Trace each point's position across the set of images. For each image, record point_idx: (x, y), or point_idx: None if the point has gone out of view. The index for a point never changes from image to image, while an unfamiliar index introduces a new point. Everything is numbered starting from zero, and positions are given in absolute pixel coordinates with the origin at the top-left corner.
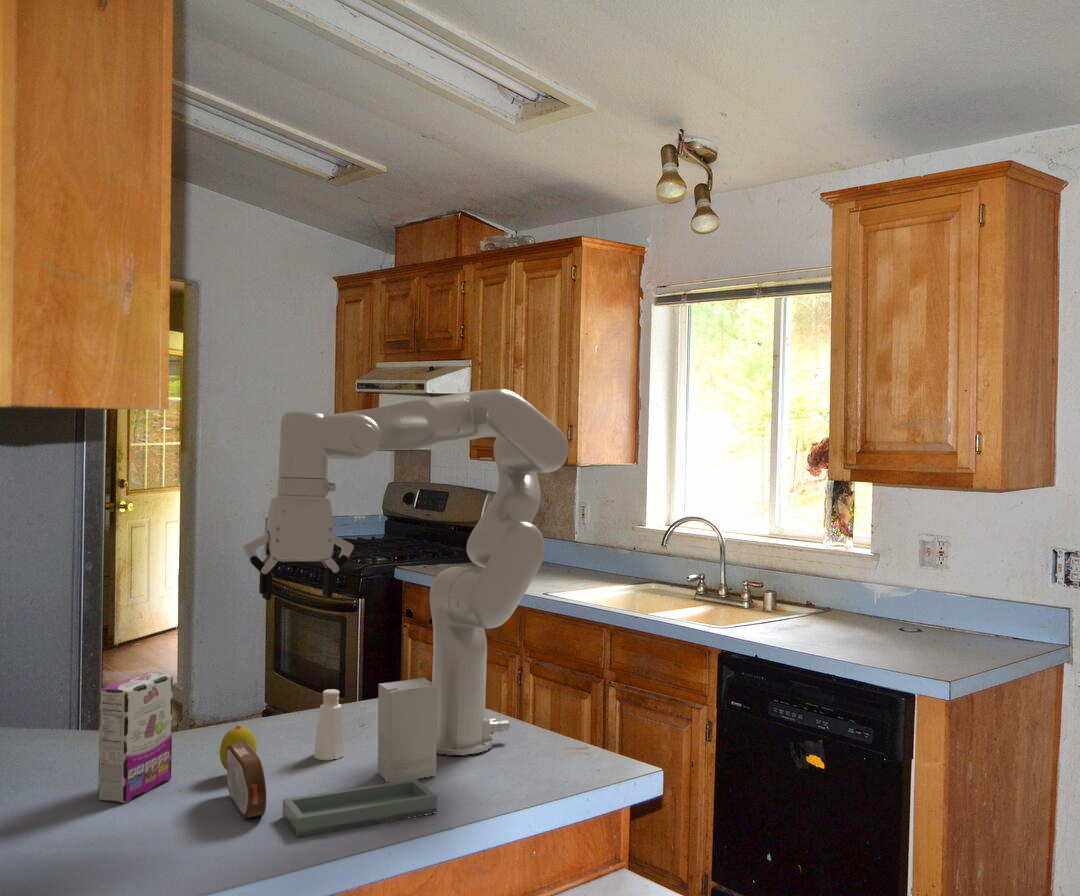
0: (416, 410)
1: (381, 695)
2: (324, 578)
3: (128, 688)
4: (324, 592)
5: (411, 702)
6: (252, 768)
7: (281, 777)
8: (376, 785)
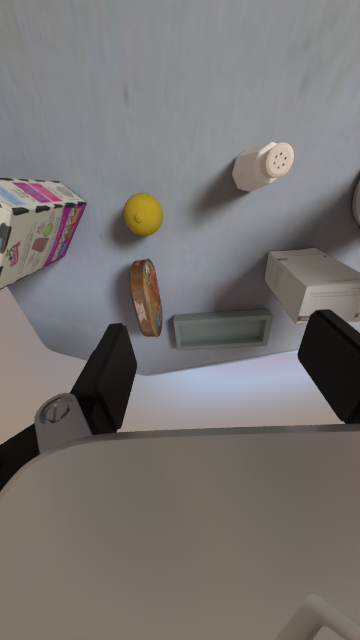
0: None
1: (296, 294)
2: (346, 363)
3: None
4: (311, 333)
5: None
6: (149, 335)
7: (186, 231)
8: (240, 317)
